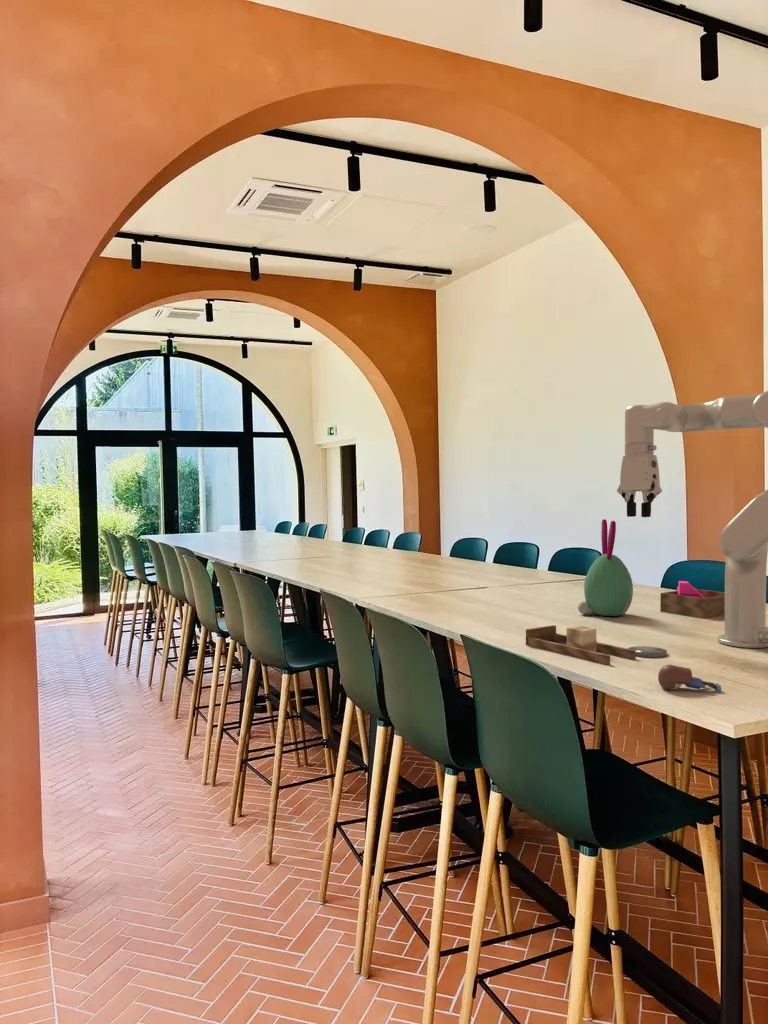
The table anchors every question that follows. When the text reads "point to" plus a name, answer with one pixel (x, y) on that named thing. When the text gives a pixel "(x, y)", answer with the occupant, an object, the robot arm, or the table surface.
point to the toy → (607, 581)
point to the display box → (694, 604)
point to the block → (582, 637)
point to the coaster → (649, 651)
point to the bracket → (688, 590)
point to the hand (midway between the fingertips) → (638, 516)
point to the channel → (558, 643)
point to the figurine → (682, 679)
